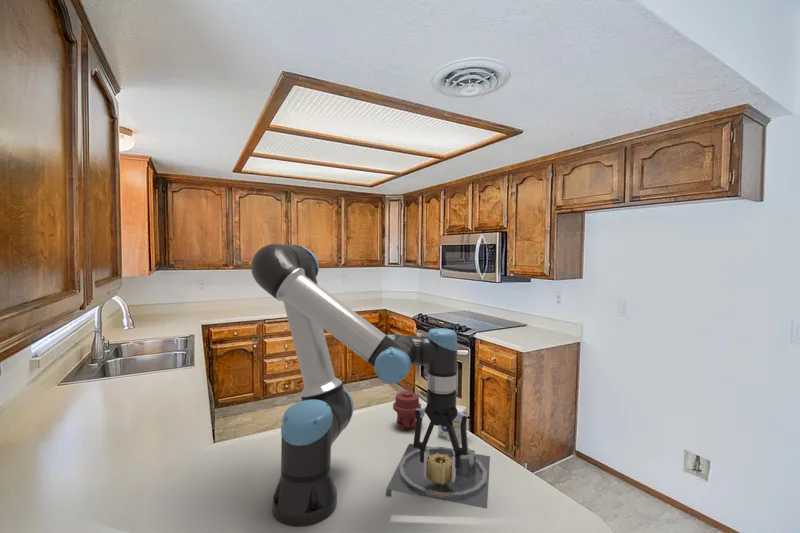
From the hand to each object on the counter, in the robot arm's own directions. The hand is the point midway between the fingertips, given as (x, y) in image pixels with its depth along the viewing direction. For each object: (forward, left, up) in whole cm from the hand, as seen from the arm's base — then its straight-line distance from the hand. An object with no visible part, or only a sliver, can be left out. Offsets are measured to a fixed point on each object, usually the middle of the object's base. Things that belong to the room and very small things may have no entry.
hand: (439, 476), depth 99 cm
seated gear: (+9, -5, -2) cm, 11 cm away
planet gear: (0, 0, 0) cm, 0 cm away
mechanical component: (+33, +17, -4) cm, 38 cm away
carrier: (+6, 0, -3) cm, 7 cm away
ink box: (+27, 0, -4) cm, 28 cm away
